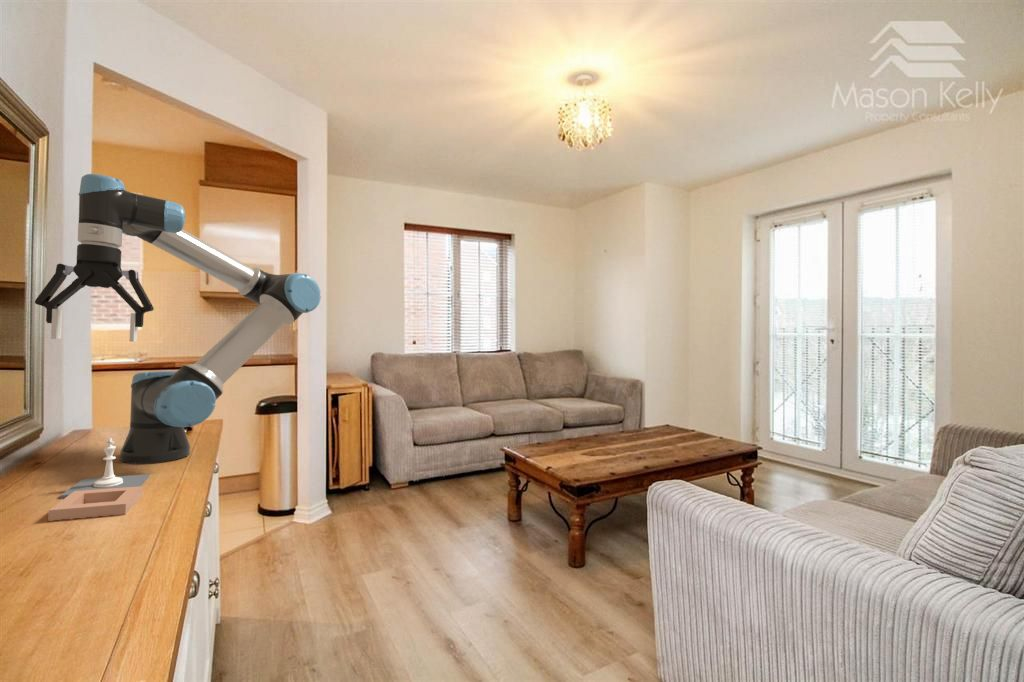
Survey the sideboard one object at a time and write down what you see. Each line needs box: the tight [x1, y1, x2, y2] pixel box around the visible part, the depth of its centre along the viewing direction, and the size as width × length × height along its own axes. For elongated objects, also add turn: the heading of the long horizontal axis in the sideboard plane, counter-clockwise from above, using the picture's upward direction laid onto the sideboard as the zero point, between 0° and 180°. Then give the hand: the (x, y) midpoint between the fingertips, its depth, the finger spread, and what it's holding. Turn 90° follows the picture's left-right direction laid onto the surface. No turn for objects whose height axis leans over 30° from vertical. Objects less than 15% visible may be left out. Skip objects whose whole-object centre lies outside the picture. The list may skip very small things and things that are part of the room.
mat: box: [59, 473, 151, 499], centre depth 103 cm, size 12×12×1 cm
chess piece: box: [93, 437, 123, 487], centre depth 103 cm, size 5×5×10 cm
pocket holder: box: [47, 485, 144, 522], centre depth 91 cm, size 11×11×2 cm
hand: (95, 340), depth 106 cm, fingers open, 13 cm apart
